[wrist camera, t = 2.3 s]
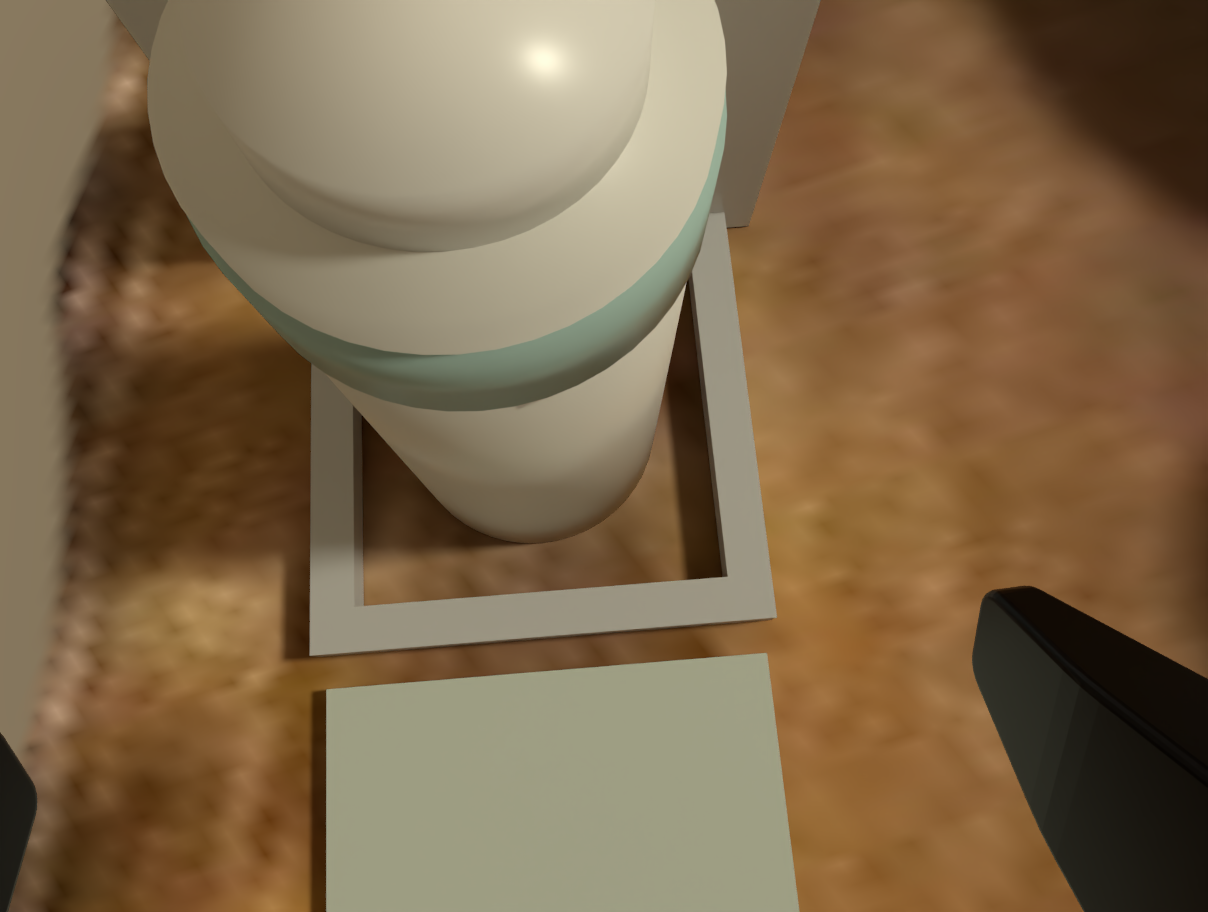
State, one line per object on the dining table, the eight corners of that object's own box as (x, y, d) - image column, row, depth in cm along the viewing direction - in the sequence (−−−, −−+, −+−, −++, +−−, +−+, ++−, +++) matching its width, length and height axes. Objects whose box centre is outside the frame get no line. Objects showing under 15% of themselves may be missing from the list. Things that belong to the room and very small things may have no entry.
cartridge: (670, 537, 21) (795, 264, 7) (411, 557, 21) (54, 318, 7) (646, 300, 22) (713, -285, 9) (406, 317, 22) (104, -248, 9)
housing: (802, 617, 20) (1029, 541, 10) (288, 659, 20) (-79, 630, 9) (728, 80, 24) (831, -411, 13) (295, 109, 24) (39, -367, 13)
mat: (826, 1156, 18) (831, 1167, 17) (331, 1204, 17) (325, 1215, 17) (764, 653, 20) (766, 652, 20) (331, 689, 20) (326, 689, 20)
